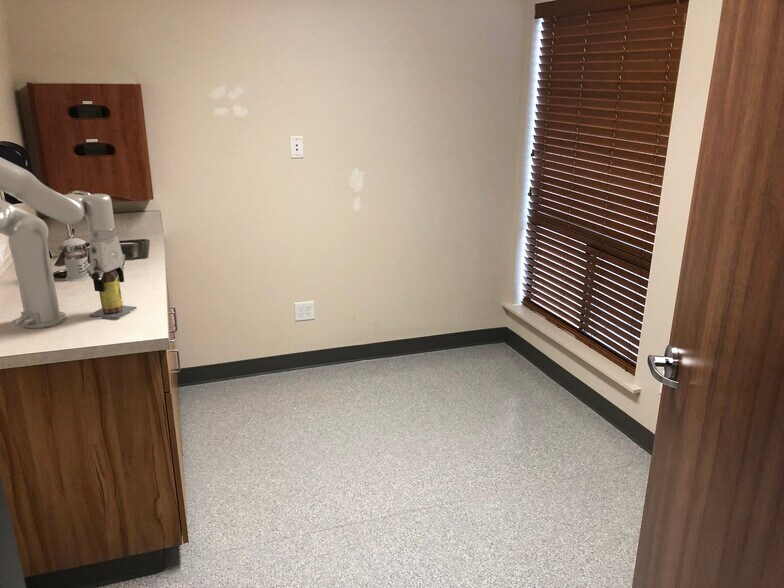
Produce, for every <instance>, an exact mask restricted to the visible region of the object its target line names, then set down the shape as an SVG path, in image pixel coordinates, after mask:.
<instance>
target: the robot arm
mask: <svg viewBox="0 0 784 588" xmlns="http://www.w3.org/2000/svg"><path fill="white" fill-rule="evenodd" d="M0 191H1V192H3V193H5V194H8V195H10V196H11V197H14V198H15V199H17V200H18V201H19V202H21V203H23V204H25V205H27V206H28V207H30V208H32V209H33V210H34V211H37V212H39V213H41V214H42V215H45V216H47V217H49V218H50V219H54V220H56V221H58V222H60V223H63V224H67V225H70V224H71V225H75V224H78V223H79V222H80V221H82V220H83V218H84V217H86V222H87V230H88V237H89V260H90V264H88V265H89V266H88V267H87V269H86V270H87V272H88V274H89V276H90V277H91V278H90V279H91V280H92V281H93V287H94V292H99V291H100V292H104V291H105V287H104V280H103V279H102V276H103V273H104V272H105V273H107V272H110V271H112V270H114V269H115V270H116V272H117V273H118V277H119V283H124V282H125V277H124V276H125V275H124V269H125V267H124V265H125V260H126V254H124V253H123V251H122V246H121V243H120V240H119V237H118V236H117V233H116V224H115V218H114V209H113V203H112V202H113V201H112V198H111V196H110V195H108V194H105V193H91V194H78V193H77V194H76V193H67V194H66V193H65V194H62V193H60V192H57V191H56V190H54V189H52V188H50V187H49V186H47V185H45V184H44V183H43V182H41V181H40V179H37V177H36V176H35V175H34V174H33V173H31V172H30V171H29V170H27V169H25V168H24V167H21V166H19V165H17V164H15V163H13V162H11V161H9V160H6V159H5V158H3V157H1V156H0ZM0 234H2V235H4V236H5V237H8V247H9V249H10V255H11V256H12V260H13V265H14V270H15V275H16V278H17V279H16V280H17V284H18V290H19V295H20V299H21V304H22V305H21V306H22V310H23V311H21V312H20V314H21V315H20V316H19V317H17V318H14V319H13V320H12V325H13V326H14V327H17V326H21V327H22V328H25V329H43V328H49V327H53V326H56V325H58V324H62V323H63V322H64V321H65V320H66V319H67V315H66V313H65V312H63V311H60V306H59V302H58V301H59V300H58V294H57V289H56V283H55V277H54V273H53V267H52V262H51V261H52V260H51V257H50V251H49V246H48V237H49V227H48V225H47V223H46V222H45V221H44V220H43V219H41V218H40V217H38V216H37V215H35V214H33V213H31V212H29V211H27V210H24V209H23V208H20V207H18V206H16V205H14V204H12V203H10V202H8V201H5V200H3V199H0ZM99 269H100V270H99ZM97 272H98V273H99V275H97Z"/></svg>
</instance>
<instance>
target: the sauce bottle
mask: <svg viewBox="0 0 784 588" xmlns="http://www.w3.org/2000/svg"><path fill="white" fill-rule="evenodd" d="M99 270H100V269H99ZM97 275H99V273H98V272H97ZM102 279H103V280H104V287H105V291H104V292H100V291H98V292H99V299H100V303H101V304H100V305H101V308H103V312H104V313H110V314H111V313H116V312H120V311H121V310H122V309H123V307H122V305H124V304H123V303H124V302H123V297H122V291H121V284H120V282H119V277H118V273H117V272H116V270H115V269H114V270H112V271H110V272H107V273H105V272H104V273H103V276H102Z"/></svg>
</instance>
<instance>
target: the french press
mask: <svg viewBox="0 0 784 588" xmlns="http://www.w3.org/2000/svg"><path fill="white" fill-rule="evenodd" d="M69 225H70V230H71V237H72V238H69V239H65V240H64V241H62V242H61V245H62V246H63V247H73V250H71V251H68V252H67V251H66V252H65V253H64V264H65V270H66V277H65V278H64V281H67V282H83V281H87V280H88V281H89V280H90V279H91V277H90V276H89V274H88V272H87V270H86V269H87V267H88V266H89V265H90V264H89V260H88V249H87V246H86V240H83V239H82V238H75V237H74V235H73V229H72V224H69ZM83 245H84V247H85V250H86V251H85V250H84V249H83V248H84V247H83ZM75 247H78V248H81V250H76V248H75ZM81 256H82V257H81Z"/></svg>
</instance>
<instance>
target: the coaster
mask: <svg viewBox="0 0 784 588" xmlns="http://www.w3.org/2000/svg"><path fill="white" fill-rule="evenodd" d="M122 307H123V309H122V310H121V311H120V312H116V313H111V314H110V313H104V312H103V308H102V307H101V308H99V309H97V310H95V311H93V312H91V313H89V317H90V318H96V317H102V318H101V319H105V318H110V319H109V320H115V319H118V320H120V319H121V318H120V317H122V316H124V315H125V314H127V313H129V312H130V311H132V310H134V309H136V308H137V306H132V305H124V304H123V305H122ZM137 309H138V308H137ZM137 309H136V310H137ZM134 311H135V310H134ZM132 312H133V311H132ZM129 314H130V313H129ZM127 315H128V314H127ZM125 316H126V315H125ZM125 316H124V317H125ZM119 318H120V319H119ZM122 318H123V317H122Z"/></svg>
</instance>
